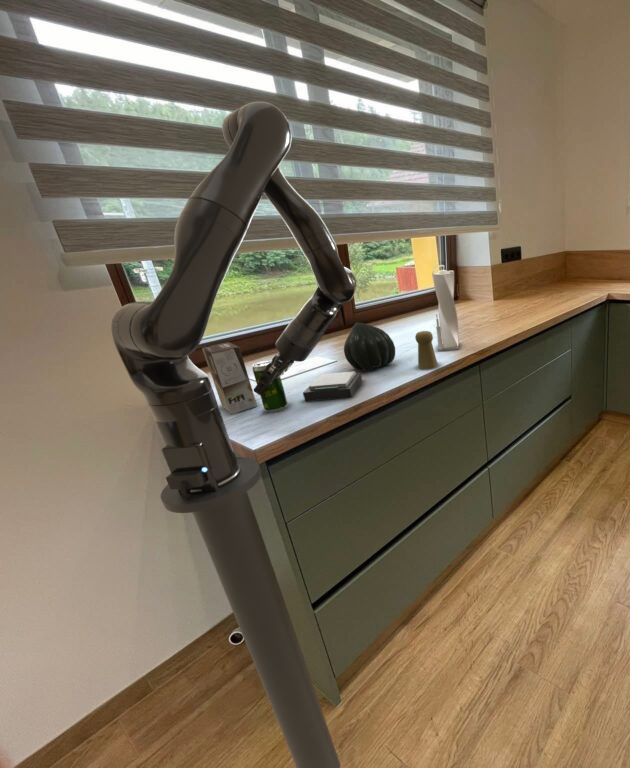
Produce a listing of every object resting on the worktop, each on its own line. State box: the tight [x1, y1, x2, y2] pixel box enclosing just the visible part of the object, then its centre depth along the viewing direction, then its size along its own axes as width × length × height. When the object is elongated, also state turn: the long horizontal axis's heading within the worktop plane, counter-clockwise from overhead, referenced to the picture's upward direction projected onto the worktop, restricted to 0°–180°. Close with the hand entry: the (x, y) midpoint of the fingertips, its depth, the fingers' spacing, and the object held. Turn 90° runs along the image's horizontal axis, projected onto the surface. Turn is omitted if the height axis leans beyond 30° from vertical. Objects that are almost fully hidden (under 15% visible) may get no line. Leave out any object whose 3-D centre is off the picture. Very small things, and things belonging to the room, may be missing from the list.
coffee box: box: [201, 341, 258, 415], centre depth 108 cm, size 9×6×16 cm
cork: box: [415, 330, 439, 370], centre depth 130 cm, size 6×6×11 cm
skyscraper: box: [431, 264, 460, 352], centre depth 146 cm, size 8×8×28 cm
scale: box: [302, 371, 363, 402], centre depth 116 cm, size 12×12×4 cm
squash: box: [343, 322, 396, 372], centre depth 133 cm, size 14×15×15 cm
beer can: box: [251, 359, 289, 413], centre depth 106 cm, size 5×5×12 cm
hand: (263, 388), depth 106 cm, fingers closed on beer can, 5 cm apart
